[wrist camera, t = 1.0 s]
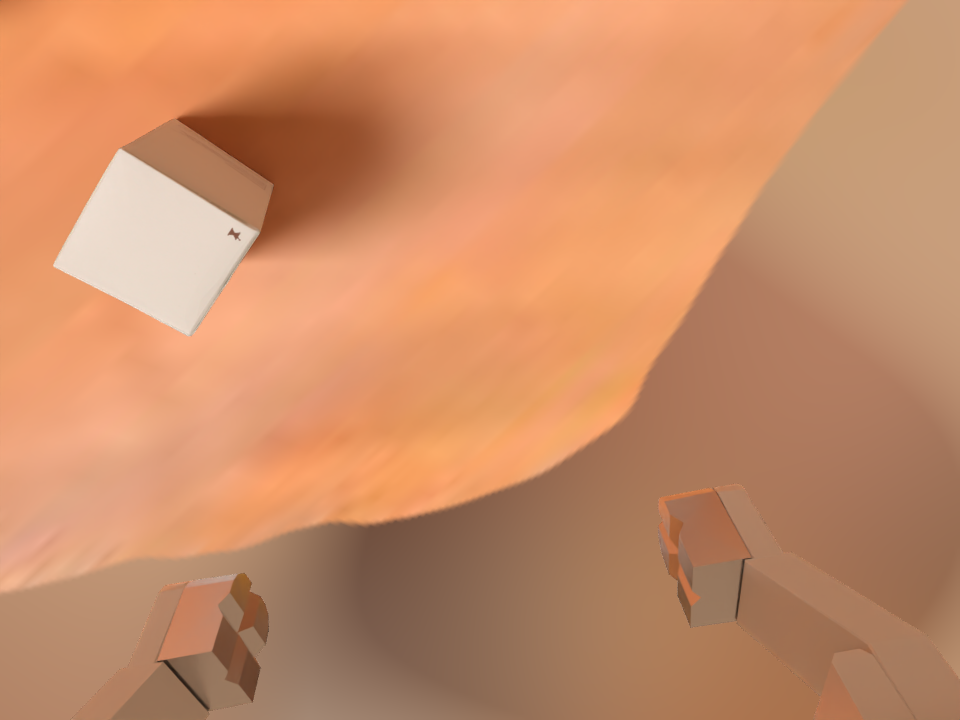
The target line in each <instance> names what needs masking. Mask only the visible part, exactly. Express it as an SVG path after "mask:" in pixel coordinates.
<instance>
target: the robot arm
mask: <svg viewBox="0 0 960 720" xmlns="http://www.w3.org/2000/svg"><path fill="white" fill-rule="evenodd" d="M658 511H659V514H660V516H661V519H662V522H661V524H660V525H659V526H658V533H659V542H660V547H661V552H662V555H663V559H664V562H665V565H666V568H667V570H668V573H669V575H671V576H672V577H673V578H675V579H676V580H677V581H678V587H677V588H678V590H677V591H678V592H677V596H678V598H679V601H680V603H681V605H682V608H683V611H684V613H685V615H686V618H687V620H688V623H689V625H690V628H691V627H698V626H705V625H712V624H719V623H726V622H733V621H737V624H738V625H739V626H740V627H741V628H742V629H744V630H745V631H746V632H747V633H748V634H750V635H751V636H752V637H753V638H754V639H755V640H756V641H757V642H759V643H760V644H761V645H762V646H763V647H764V648H765V649H766V650H768V651H769V652H770V653H771V654H772V655H773V656H775V657H776V658H777V659H778V660H779V661H780V662H781V663H782V664H784V665H785V666H786V667H787V668H788V669H789V670H790V671H792V672H793V673H794V674H795V675H796V676H797V677H798V678H800V679H801V680H802V681H803V682H804V683H805V684H807V685H808V686H809V687H810V688H811V689H812V690H813V691H814V692H816V693H817V694H818V695H819V696H820V700H819V704H818V707H817V710H816V713H815V716H814V719H813V720H960V679H959V678H958V676H957V675H956V674H955V672H954V671H953V670H952V668H951V667H950V666H949V664H948V663H947V662H946V660H945V659H944V657H943V656H942V654H941V653H940V652H939V650H938V649H937V648H936V646H935V645H934V644H933V642H932V641H931V640H930V638H929V637H928V635H926V634H924V633H923V632H921V631H919V630H918V629H916V628H915V627H913V626H911V625H909V624H908V623H906V622H905V621H903V620H901V619H900V618H898V617H897V616H895V615H893V614H892V613H890V612H889V611H887V610H885V609H884V608H882V607H880V606H878V605H877V604H875V603H874V602H872V601H871V600H869V599H867V598H865V597H864V596H863V595H861V594H859V593H858V592H856V591H854V590H853V589H851V588H849V587H848V586H846V585H845V584H843V583H841V582H840V581H838V580H836V579H835V578H833V577H832V576H830V575H828V574H827V573H825V572H823V571H822V570H820V569H819V568H817V567H815V566H813V565H812V564H810V563H809V562H807V561H806V560H804V559H802V558H801V557H799V556H797V555H796V554H794V553H793V552H788V553H783V551H782V550H781V548H780V546H779V545H778V543H777V541H776V540H775V538H774V537H773V535H772V533H771V532H770V530H769V528H768V527H767V525H766V523H765V522H764V520H763V518H762V517H761V515H760V513H759V512H758V510H757V509H756V507H755V505H754V504H753V502H752V500H751V499H750V497H749V495H748V494H747V492H746V490H745V489H744V487H743V486H741V485H740V484H738V483H737V484H731V485H726V486H720V487H715V488H706V489H701V490H696V491H691V492H685V493H681V494H675V495H670V496H665V497H660V499H659V501H658ZM251 585H252V582H251V581H250V580H249V578H248V577H247V575H246V574H245V573H240V574H233V575H226V576H220V577H213V578H206V579H200V580H193V581H187V582H182V583H176V584H169V585H165V586H164V587H163V588H162V590H161V591H160V592H159V593H158V595H157V597H156V600H155V602H154V605H153V607H152V610H151V612H150V614H149V617H148V619H147V621H146V624H145V626H144V629H143V631H142V633H141V636H140V638H139V641H138V643H137V646H136V648H135V651H134V653H133V655H132V658H131V660H130V662H129V665H128V667H127V668H123V669H119V670H118V672H116V674H115V675H114V676H113V677H112V678H111V679H110V680H109V681H108V682H107V683H106V684H105V685H104V686H103V687H102V688H101V689H100V690H99V691H98V692H97V693H96V694H95V695H94V696H93V697H92V698H91V699H90V700H89V701H88V702H87V703H86V704H85V705H84V706H83V707H82V708H81V709H80V710H79V711H78V712H77V713H76V714H75V715H74V716H73V717H72V718H71V720H206V718H207V717H208V716H209V712H208V711H213V710H218V709H223V708H228V707H233V706H238V705H243V704H248V703H252V702H253V699H254V695H255V690H256V686H257V681H258V677H259V673H260V668H261V667H260V665H259V663H258V661H257V660H256V658H255V657H256V656H257V655H258V654H259V653H260V651H261V650H262V649H263V648H264V646H265V645H266V642H267V637H268V632H269V616H268V611H267V608H266V604H265V603H264V601H263V599H262V598H261V596H259V595H256V594H254V593H252V592H250V588H251Z"/></svg>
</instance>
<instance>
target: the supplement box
mask: <svg viewBox="0 0 960 720" xmlns="http://www.w3.org/2000/svg"><path fill="white" fill-rule="evenodd" d="M273 187H274V184H272V183H271V182H269V181H268V180H266V179H265V178H263V177H262V176H260V175H259V174H258V173H256V172H254V171H253V170H252V169H250V168H248V167H247V166H245V165H244V164H242V163H241V162H240V161H238V160H237V159H235V158H234V157H232V156H230V155H229V154H227V153H226V152H225V151H223V150H222V149H220V148H219V147H217V146H216V145H214V144H213V143H211V142H210V141H208V140H207V139H205V138H204V137H202V136H201V135H199V134H198V133H196V132H195V131H193V130H192V129H190V128H189V127H187V126H186V125H184V124H183V123H181V122H180V121H178V120H177V119H172V120H170V121H168V122H166V123H164V124H163V125H161V126H159V127H157V128H156V129H154V130H152V131H150V132H149V133H147V134H145V135H143V136H142V137H140V138H138V139H136V140H135V141H133V142H131V143H129V144H127V145H125V146H124V147H122V148H119V150H118V151H117V153H116V154H115V156H114V157H113V159H112V161H111V162H110V164H109V166H108V167H107V169H106V171H105V173H104V174H103V176H102V178H101V179H100V181H99V183H98V185H97V186H96V188H95V190H94V192H93V193H92V195H91V197H90V199H89V200H88V202H87V204H86V206H85V208H84V209H83V211H82V213H81V215H80V217H79V218H78V220H77V222H76V224H75V226H74V227H73V229H72V231H71V233H70V234H69V236H68V238H67V240H66V242H65V243H64V245H63V247H62V249H61V251H60V253H59V255H58V257H57V259H56V260H55V262H54V265H53V266H54V267H55V268H57V269H59V270H61V271H63V272H65V273H67V274H69V275H71V276H73V277H75V278H77V279H79V280H81V281H83V282H85V283H87V284H89V285H91V286H93V287H95V288H97V289H99V290H101V291H103V292H105V293H107V294H109V295H111V296H113V297H115V298H117V299H119V300H121V301H123V302H125V303H127V304H128V305H130V306H132V307H134V308H136V309H138V310H140V311H142V312H144V313H145V314H147V315H149V316H151V317H153V318H155V319H157V320H158V321H160V322H162V323H164V324H166V325H168V326H170V327H172V328H174V329H176V330H177V331H179V332H181V333H183V334H185V335H187V336H192V335H193V334H194V333H195V331H196V330H197V328H198V327H199V325H200V324H201V322H202V321H203V319H204V318H205V316H206V315H207V313H208V312H209V310H210V308H211V307H212V305H213V304H214V302H215V301H216V299H217V298H218V296H219V295H220V293H221V292H222V290H223V289H224V287H225V286H226V285H227V283H228V282H229V280H230V278H231V277H232V275H233V273H234V272H235V270H236V269H237V267H238V266H239V264H240V263H241V261H242V259H243V258H244V256H245V255H246V253H247V252H248V250H249V249H250V247H251V246H252V244H253V243H254V241H255V240H256V238H257V237H258V236H259V234H260V232H261V228H262V225H263V222H264V218H265V215H266V211H267V208H268V204H269V201H270V197H271V194H272V190H273Z"/></svg>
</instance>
